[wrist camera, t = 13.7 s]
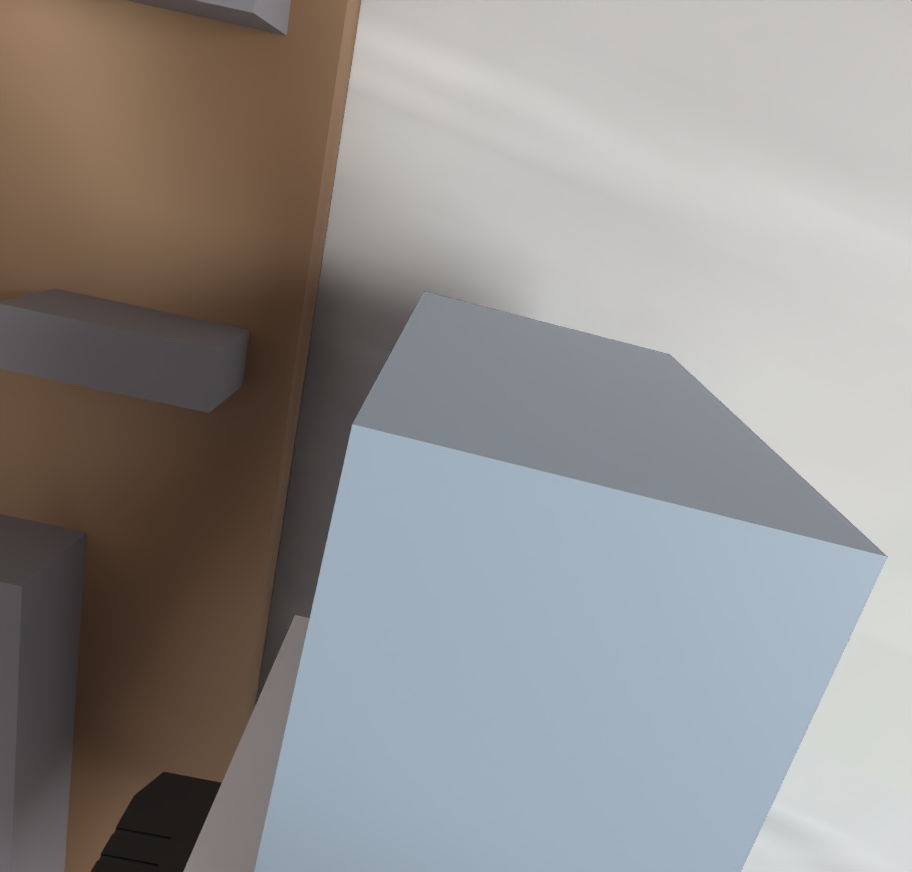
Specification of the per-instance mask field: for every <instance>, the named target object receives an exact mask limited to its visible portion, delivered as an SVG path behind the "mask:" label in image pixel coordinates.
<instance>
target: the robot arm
mask: <svg viewBox="0 0 912 872" xmlns="http://www.w3.org/2000/svg"><path fill="white" fill-rule="evenodd" d="M309 619H310V618H308V617H303V616H297V615H295V616H294V618H293V620H292V623H291V625H290V627H289V630H288V632H287V634H286V636H285V639H284V641H283V643H282V646H281V648H280V650H279V653H278V655H277V657H276V660H275V662H274V664H273V666H272V669H271V671H270V673H269V676H268V678H267V680H266V683H265V685H264V687H263V689H262V692H261V694H260V696H259V699H258V701H257V703H256V706H255V708H254V710H253V712H252V715H251V717H250V719H249V722H248V724H247V726H246V729H245V731H244V733H243V735H242V738H241V740H240V742H239V745H238V747H237V749H236V752H235V754H234V756H233V758H232V761H231V763H230V765H229V768H228V770H227V772H226V775H225V777H224V779H223V782H222V783H221V782H216V781H211V780H205V779H200V778H195V777H190V776H184V775H179V774H174V773H169V772H162V773H161V774H160V775H159V776H157V777H156V778H155V779H154V780H153V781H151V782H150V783H149V784H148V785H146V786H145V787H144V788H143V789H141V790H140V791H139V792H138V793H137V794H135V795H134V796H133V798H132V800H131V802H130V803H129V805H128V807H127V809H126V810H125V812H124V814H123V816H122V817H121V819H120V821H119V823H118V824H117V826H116V829H115V832H114V834H113V833H112V835H111V837H110V838H109V840H108V842H107V844H106V846H105V847H104V849H103V851H102V853H101V856H100V859H99V860H97V861H96V863H95V865H94V867H93V868H92V870H91V872H254V870H255V865H256V861H257V856H258V852H259V847H260V843H261V838H262V833H263V829H264V824H265V820H266V815H267V811H268V806H269V802H270V797H271V792H272V788H273V783H274V779H275V774H276V770H277V765H278V761H279V756H280V751H281V747H282V742H283V738H284V733H285V729H286V724H287V719H288V715H289V710H290V706H291V701H292V697H293V692H294V688H295V683H296V678H297V674H298V669H299V665H300V660H301V656H302V651H303V647H304V642H305V637H306V633H307V628H308V624H309Z"/></svg>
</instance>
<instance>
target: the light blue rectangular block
mask: <svg viewBox="0 0 912 872" xmlns="http://www.w3.org/2000/svg"><path fill="white" fill-rule="evenodd" d="M886 559H887V556H886V555H885V554H884V553H883V552H882V551H881V550H880V549H879V548H878V547H877V546H875V545H874V544H873V543H872V542H871V541H870V540H869V539H868V538H867V537H866V536H865V535H864V534H863V533H861V532H860V531H859V530H858V529H857V528H856V527H855V526H854V525H853V524H852V523H851V522H850V521H849V520H848V519H846V518H845V517H844V516H843V515H842V514H841V513H840V512H839V511H838V510H837V509H836V508H835V507H834V506H832V505H831V504H830V503H829V502H828V501H827V500H826V499H825V498H824V497H823V496H822V495H821V494H820V493H818V492H817V491H816V490H815V489H814V488H813V487H812V486H811V485H810V484H809V483H808V482H807V481H806V480H804V479H803V478H802V477H801V476H800V475H799V474H798V473H797V472H796V471H795V470H794V469H793V468H792V467H790V466H789V465H788V464H787V463H786V462H785V461H784V460H783V459H782V458H781V457H780V456H779V455H778V454H777V453H775V452H774V451H773V450H772V449H771V448H770V447H769V446H768V445H767V444H766V443H765V442H764V441H763V440H761V439H760V438H759V437H758V436H757V435H756V434H755V433H754V432H753V431H752V430H751V429H750V428H749V427H747V426H746V425H745V424H744V423H743V422H742V421H741V420H740V419H739V418H738V417H737V416H736V415H735V414H733V413H732V412H731V411H730V410H729V409H728V408H727V407H726V406H725V405H724V404H723V403H722V402H721V401H719V400H718V399H717V398H716V397H715V396H714V395H713V394H712V393H711V392H710V391H709V390H708V389H707V388H706V387H704V386H703V385H702V384H701V383H700V382H699V381H698V380H697V379H696V378H695V377H694V376H693V375H692V374H690V373H689V372H688V371H687V370H686V369H685V368H684V367H683V366H682V365H681V364H680V363H679V362H678V361H676V360H675V359H674V358H673V357H672V356H671V355H670V354H667V353H663V352H659V351H655V350H651V349H647V348H643V347H639V346H635V345H632V344H628V343H624V342H620V341H616V340H612V339H608V338H604V337H600V336H596V335H593V334H589V333H585V332H581V331H577V330H573V329H569V328H565V327H561V326H557V325H553V324H550V323H546V322H542V321H538V320H534V319H530V318H526V317H522V316H518V315H514V314H511V313H507V312H503V311H499V310H495V309H491V308H487V307H483V306H479V305H475V304H472V303H468V302H464V301H460V300H456V299H452V298H448V297H444V296H440V295H436V294H433V293H429V292H425V291H424V292H423V294H422V296H421V298H420V300H419V301H418V303H417V305H416V307H415V309H414V311H413V313H412V314H411V316H410V318H409V320H408V322H407V324H406V326H405V327H404V329H403V331H402V333H401V335H400V337H399V338H398V340H397V342H396V344H395V346H394V348H393V350H392V351H391V353H390V355H389V357H388V359H387V361H386V363H385V364H384V366H383V368H382V370H381V372H380V374H379V376H378V377H377V379H376V381H375V383H374V385H373V387H372V388H371V390H370V392H369V394H368V396H367V398H366V400H365V401H364V403H363V405H362V407H361V409H360V411H359V413H358V414H357V416H356V418H355V420H354V422H353V424H352V428H351V432H350V437H349V441H348V446H347V450H346V455H345V460H344V464H343V469H342V473H341V478H340V482H339V487H338V491H337V496H336V501H335V505H334V510H333V514H332V519H331V523H330V528H329V532H328V537H327V542H326V546H325V551H324V555H323V560H322V564H321V569H320V574H319V578H318V583H317V587H316V592H315V596H314V601H313V605H312V610H311V615H310V619H309V624H308V628H307V633H306V637H305V642H304V647H303V651H302V656H301V660H300V665H299V669H298V674H297V678H296V683H295V688H294V692H293V697H292V701H291V706H290V710H289V715H288V719H287V724H286V729H285V733H284V738H283V742H282V747H281V751H280V756H279V761H278V765H277V770H276V774H275V779H274V783H273V788H272V792H271V797H270V802H269V806H268V811H267V815H266V820H265V824H264V829H263V833H262V838H261V843H260V847H259V852H258V856H257V861H256V865H255V870H254V872H741V870H742V868H743V866H744V864H745V862H746V859H747V857H748V855H749V853H750V851H751V849H752V847H753V844H754V842H755V840H756V838H757V836H758V834H759V832H760V829H761V827H762V825H763V823H764V821H765V819H766V817H767V814H768V812H769V810H770V808H771V806H772V804H773V802H774V799H775V797H776V795H777V793H778V791H779V789H780V787H781V784H782V782H783V780H784V778H785V776H786V774H787V771H788V769H789V767H790V765H791V763H792V761H793V759H794V756H795V754H796V752H797V750H798V748H799V746H800V744H801V741H802V739H803V737H804V735H805V733H806V731H807V729H808V726H809V724H810V722H811V720H812V718H813V716H814V714H815V711H816V709H817V707H818V705H819V703H820V701H821V699H822V696H823V694H824V692H825V690H826V688H827V686H828V683H829V681H830V679H831V677H832V675H833V673H834V671H835V668H836V666H837V664H838V662H839V660H840V658H841V656H842V653H843V651H844V649H845V647H846V645H847V643H848V641H849V638H850V636H851V634H852V632H853V630H854V628H855V626H856V623H857V621H858V619H859V617H860V615H861V613H862V611H863V608H864V606H865V604H866V602H867V600H868V598H869V596H870V593H871V591H872V589H873V587H874V585H875V583H876V580H877V578H878V576H879V574H880V572H881V570H882V568H883V565H884V563H885V561H886Z"/></svg>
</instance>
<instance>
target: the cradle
mask: <svg viewBox="0 0 912 872" xmlns="http://www.w3.org/2000/svg"><path fill="white" fill-rule="evenodd" d="M86 534H87V532H83V531H78V530H74V529H69V528H64V527H59V526H55V525H50V524H45V523H41V522H36V521H31V520H26V519H22V518H17V517H12V516H8V515H3V514H0V872H64V870H65V856H66V840H67V825H68V810H69V794H70V779H71V764H72V748H73V733H74V718H75V702H76V687H77V672H78V656H79V641H80V626H81V610H82V595H83V580H84V565H85V549H86Z"/></svg>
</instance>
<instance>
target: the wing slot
mask: <svg viewBox="0 0 912 872" xmlns="http://www.w3.org/2000/svg"><path fill="white" fill-rule="evenodd" d="M126 1H131V2H136V3H140V4H145V5H149V6H154V7H159V8H163V9H168V10H172V11H177V12H181V13H186V14H191V15H195V16H200V17H204V18H209V19H214V20H218V21H223V22H227V23H232V24H236V25H241V26H246V27H250V28H255V29H259V30H264V31H269V32H273V33H278V34H282V35H287V28H288V20H289V12H290V4H291V0H126ZM249 332H250V330H247V329H242V328H237V327H233V326H228V325H223V324H219V323H214V322H210V321H205V320H200V319H196V318H191V317H186V316H182V315H177V314H172V313H168V312H163V311H158V310H154V309H149V308H144V307H140V306H135V305H130V304H126V303H121V302H116V301H112V300H107V299H102V298H98V297H93V296H88V295H84V294H79V293H74V292H70V291H65V290H60V289H51V290H47V291H43V292H39V293H35V294H30V295H26V296H22V297H18V298H13V299H9V300H5V301H1V302H0V369H5V370H10V371H14V372H19V373H24V374H28V375H33V376H38V377H43V378H47V379H52V380H57V381H61V382H66V383H71V384H75V385H80V386H85V387H89V388H94V389H99V390H103V391H108V392H113V393H117V394H122V395H127V396H131V397H136V398H141V399H145V400H150V401H155V402H160V403H164V404H169V405H174V406H178V407H183V408H188V409H192V410H197V411H202V412H206V413H209V412H211V411H212V410H213V409H214V408H216V407H217V406H218V405H219V404H221V403H222V402H223V401H225V400H226V399H227V398H228V397H230V396H231V395H232V394H234V393H235V392H236V391H237V390H239V389H240V388H241V387H242V386H243V380H244V372H245V364H246V356H247V348H248V340H249Z"/></svg>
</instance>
